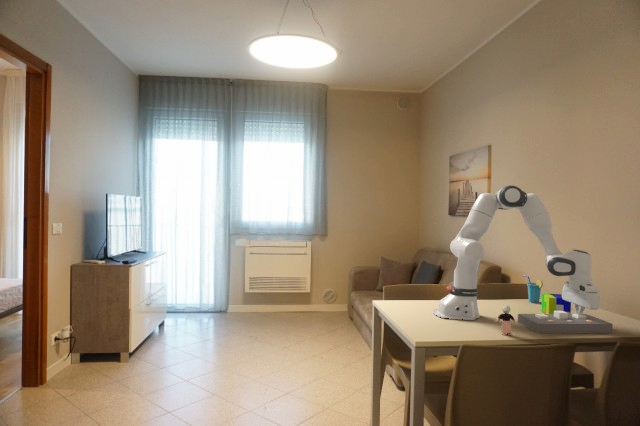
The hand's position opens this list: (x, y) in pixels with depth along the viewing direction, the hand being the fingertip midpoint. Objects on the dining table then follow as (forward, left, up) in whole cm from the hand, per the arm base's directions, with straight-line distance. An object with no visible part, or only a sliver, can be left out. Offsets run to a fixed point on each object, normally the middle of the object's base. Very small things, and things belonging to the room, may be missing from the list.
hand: (578, 314), depth 183 cm
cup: (+6, +46, -6) cm, 47 cm away
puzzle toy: (+1, +18, -6) cm, 19 cm away
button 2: (0, 0, -3) cm, 3 cm away
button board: (-9, -2, -6) cm, 11 cm away
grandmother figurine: (-42, -12, -6) cm, 44 cm away
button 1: (-18, 0, -3) cm, 18 cm away
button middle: (-9, 0, -2) cm, 9 cm away
